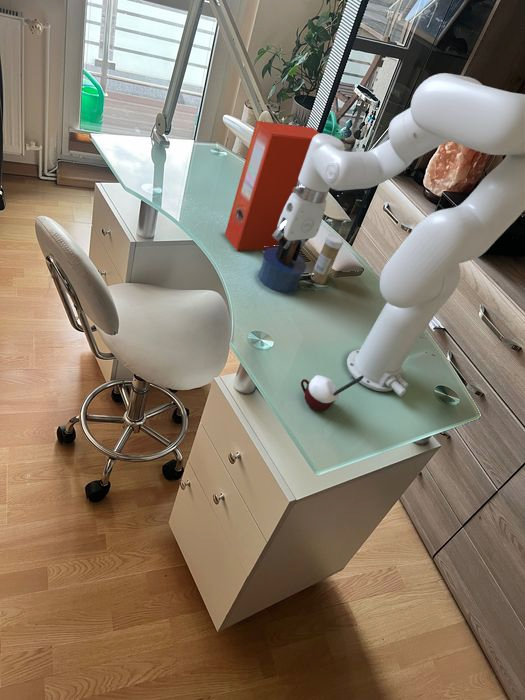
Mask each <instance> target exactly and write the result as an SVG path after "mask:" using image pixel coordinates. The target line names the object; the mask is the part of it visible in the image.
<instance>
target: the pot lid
mask: <svg viewBox="0 0 525 700" xmlns="http://www.w3.org/2000/svg"><path fill="white" fill-rule="evenodd" d="M286 240H287V239H286ZM286 240H285V242H286ZM297 245H298V242H297V241H296V240H292V241H291V242H290V245H289V247H288V249H289V251H288V254H287V257H286V259H285V262H284V263H282V262H280V261H279V260H278V259H277V258H276V256H275V255H276V252H277V249H278V248H275V247H274V248H268V249H264V251H263V252H262V260H264V261H265V263H266V264H267V265H268V266H270V267H271V268H272V269H274V270H276V271H278V272H281V273H284V274H288V275H299V274H302V273H305V271H306V270H307V264H306V261H305V260H304V259H303V258H302V257H301V256H300V254H299V255H298V258H297V260H296V261H293V260H292V258H293V256H294V253H295V250H296V248H297ZM302 275H303V274H302Z"/></svg>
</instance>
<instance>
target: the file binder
mask: <svg viewBox="0 0 525 700" xmlns="http://www.w3.org/2000/svg"><path fill="white" fill-rule="evenodd" d="M319 133H320V132H319V131H318V130H316V129H315V128H314V127H312V126H311V127H310V126H302V125H295V124H285V123H278V122H271V121H262V120H256V121H255V124H254V129H253V132H252V136H251V139H250V142H249V146H248V150H247V154H246V156H245V161H244V164H243V168H242V172H241V175H240V178H239V181H238V186H237V190H236V193H235V196H234V199H233V200H234V201H233V204H232V207H231V211H230V214H229V217H228V222H227V226H226V229H225V232H224V235H225V237H226V239H227V240H228V241H229V243H230V244H231V245H232V246H233V248H234V249H235V251H256V250H258V251H259V250H266V249H268V248H274V247H275V248H278V246H272V245H279V243H278V241H277V240H276V239H275V238H274V237H273V236H272V235H273V233H274V232H275V231H276V230H277V226H278V222H279V219H280V216H281V214H282V212H283V209H284V207H285V205H286V203H287V201H288V199H289V197H290V196H291V194H292V193H293V188H294V187H295V186H296V183H297V180H298V177H299V174H300V172H301V169H302V166H303V163H304V160H305V157H306V155H307V152H308V149H309V146H310V143H311V141H312V138H313V137H314V136H315V135H316V134H319ZM284 240H286V238H285V239H284ZM264 246H269V247H264Z"/></svg>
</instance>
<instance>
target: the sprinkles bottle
mask: <svg viewBox="0 0 525 700" xmlns="http://www.w3.org/2000/svg"><path fill="white" fill-rule="evenodd" d="M324 239H325V240H324V244H323V246H322V248H321V251H320V252H319V255H318V257H317V260H316V262H315V265H314V268H313V270H312V272H313V273H314V276H313V277H312V274H310V279H311V280H312V281H313V282H315V283H317V284H320V285H322V284H325V283H327V279H328V277H329V275H330V273H331V271H332V269H333V266H334V264H335V261H336V258H337V256H338V254H339V252H340V250H341V248H342V247H343V245H344V239H343V238H342V237H341V236H340V235H338V234H335V233H329V234H327V235H326V237H325V238H324Z"/></svg>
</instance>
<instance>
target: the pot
mask: <svg viewBox="0 0 525 700" xmlns="http://www.w3.org/2000/svg"><path fill="white" fill-rule="evenodd" d="M262 260H263V261H262V264H261V267H260V269H259V272H258V279H259V282H261V284H262V285H263V286H264V287H265V288H268V289H269V290H271V291H274V292H276V293H280V294H281V293H282V294H289V293H294V291H296V290H297V288H298V285H299V283H300V281H301V279H302V276H303V273H304V272H303V273H302V274H299V275H288V274H284V273H281V272H278V271H276V270H274V269H272V268H271V267H270V266H268V265H267V264H266V263H265V261H264V259H262Z"/></svg>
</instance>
